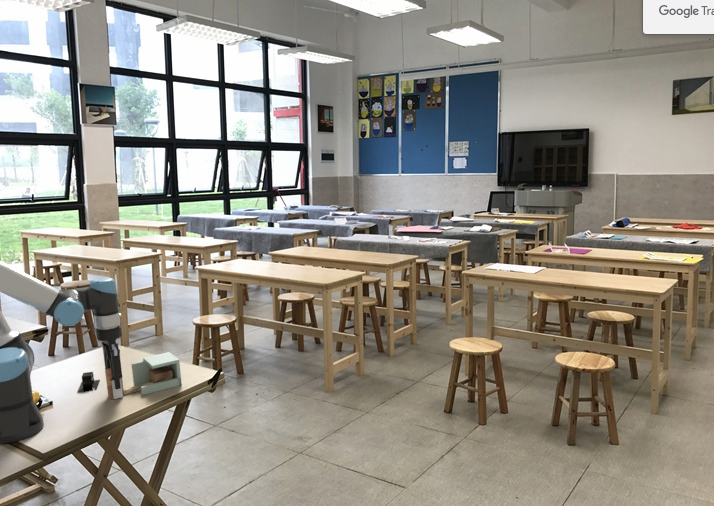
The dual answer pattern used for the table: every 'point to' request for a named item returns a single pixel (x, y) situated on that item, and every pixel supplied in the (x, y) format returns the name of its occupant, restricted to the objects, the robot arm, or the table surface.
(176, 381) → the shelf lane
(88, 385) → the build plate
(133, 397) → the table surface
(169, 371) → the towed block
